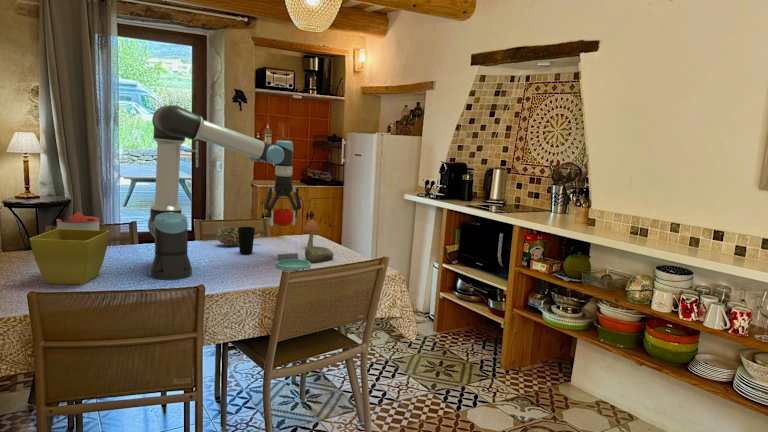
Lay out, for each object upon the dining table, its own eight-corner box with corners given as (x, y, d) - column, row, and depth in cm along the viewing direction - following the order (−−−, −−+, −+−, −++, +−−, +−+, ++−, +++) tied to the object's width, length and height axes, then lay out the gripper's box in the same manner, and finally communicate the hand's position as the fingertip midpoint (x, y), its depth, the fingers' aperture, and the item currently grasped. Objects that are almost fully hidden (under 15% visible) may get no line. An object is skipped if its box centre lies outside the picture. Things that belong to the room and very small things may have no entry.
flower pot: (87, 288, 182) (86, 240, 180) (29, 286, 181) (27, 238, 178) (111, 273, 201) (110, 230, 199) (59, 272, 199) (57, 228, 197)
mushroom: (322, 248, 265) (323, 219, 263) (312, 251, 258) (313, 221, 256) (310, 246, 269) (311, 217, 267) (299, 248, 262) (300, 218, 260)
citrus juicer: (74, 253, 229) (72, 207, 226) (109, 256, 226) (108, 210, 223) (44, 260, 214) (42, 212, 211) (81, 265, 211) (80, 215, 208)
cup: (249, 256, 241) (250, 230, 240) (234, 254, 243) (234, 228, 241) (257, 252, 249) (257, 227, 247) (242, 251, 250) (242, 226, 249)
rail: (278, 262, 232) (278, 254, 232) (277, 261, 233) (277, 254, 233) (297, 261, 237) (298, 253, 236) (296, 260, 238) (297, 252, 237)
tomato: (290, 223, 244) (291, 207, 243) (294, 227, 236) (294, 210, 235) (270, 223, 241) (270, 207, 240) (272, 227, 233) (273, 210, 232)
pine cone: (218, 248, 252) (218, 228, 251) (213, 244, 260) (213, 225, 259) (263, 246, 263) (263, 226, 262) (257, 242, 271) (258, 223, 270)
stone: (296, 258, 238) (304, 237, 240) (318, 269, 247) (326, 249, 250) (308, 260, 231) (316, 239, 234) (330, 271, 241) (338, 251, 243)
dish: (282, 271, 217) (282, 268, 217) (272, 263, 230) (272, 260, 230) (315, 269, 224) (315, 265, 224) (303, 261, 237) (303, 258, 237)
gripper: (261, 175, 227) (260, 227, 230) (310, 176, 238) (308, 225, 241) (256, 174, 233) (255, 224, 236) (304, 175, 244) (302, 222, 247)
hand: (282, 224), depth 239 cm, fingers closed on tomato, 9 cm apart
